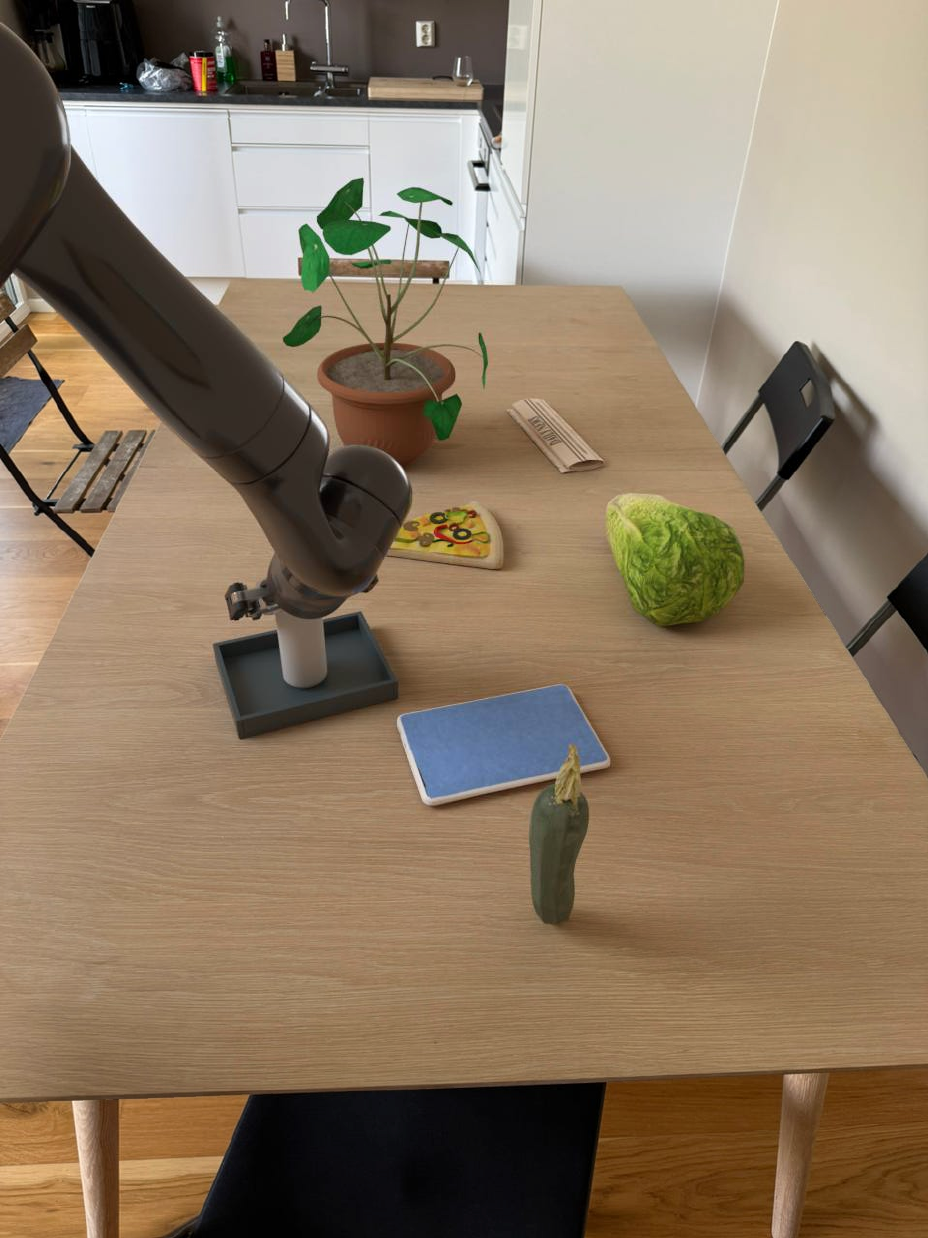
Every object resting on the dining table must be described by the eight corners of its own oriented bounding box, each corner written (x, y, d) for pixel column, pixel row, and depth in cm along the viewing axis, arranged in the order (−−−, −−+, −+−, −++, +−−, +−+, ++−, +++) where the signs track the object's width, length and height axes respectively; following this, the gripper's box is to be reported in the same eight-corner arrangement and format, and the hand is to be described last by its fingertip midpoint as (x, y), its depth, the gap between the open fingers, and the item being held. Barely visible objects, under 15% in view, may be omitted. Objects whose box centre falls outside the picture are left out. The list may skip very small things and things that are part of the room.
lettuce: (569, 555, 124) (665, 554, 127) (634, 640, 103) (747, 636, 106) (583, 458, 118) (684, 459, 121) (655, 527, 97) (775, 526, 100)
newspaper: (603, 467, 139) (604, 457, 138) (561, 473, 137) (562, 463, 136) (543, 406, 157) (544, 396, 155) (506, 410, 155) (506, 401, 154)
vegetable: (555, 954, 72) (582, 789, 60) (509, 929, 74) (526, 763, 62) (579, 914, 75) (609, 749, 63) (534, 891, 77) (554, 726, 65)
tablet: (424, 811, 84) (424, 802, 83) (394, 721, 93) (394, 712, 92) (612, 771, 89) (614, 762, 88) (565, 689, 98) (566, 680, 97)
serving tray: (239, 739, 91) (235, 721, 89) (215, 660, 100) (212, 643, 99) (398, 698, 96) (398, 681, 95) (362, 627, 106) (361, 610, 104)
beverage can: (336, 673, 98) (329, 584, 91) (307, 697, 95) (297, 607, 88) (304, 656, 100) (294, 569, 93) (273, 679, 97) (261, 590, 90)
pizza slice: (512, 569, 116) (514, 550, 114) (354, 584, 113) (352, 564, 111) (487, 509, 128) (488, 491, 126) (343, 520, 125) (342, 501, 123)
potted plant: (518, 473, 137) (538, 195, 113) (336, 506, 128) (316, 211, 103) (445, 395, 159) (449, 149, 135) (286, 418, 150) (259, 158, 126)
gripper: (382, 513, 80) (351, 554, 95) (222, 543, 75) (216, 580, 91) (403, 594, 79) (368, 621, 95) (243, 628, 75) (233, 651, 90)
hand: (294, 601), depth 93 cm, fingers open, 8 cm apart
